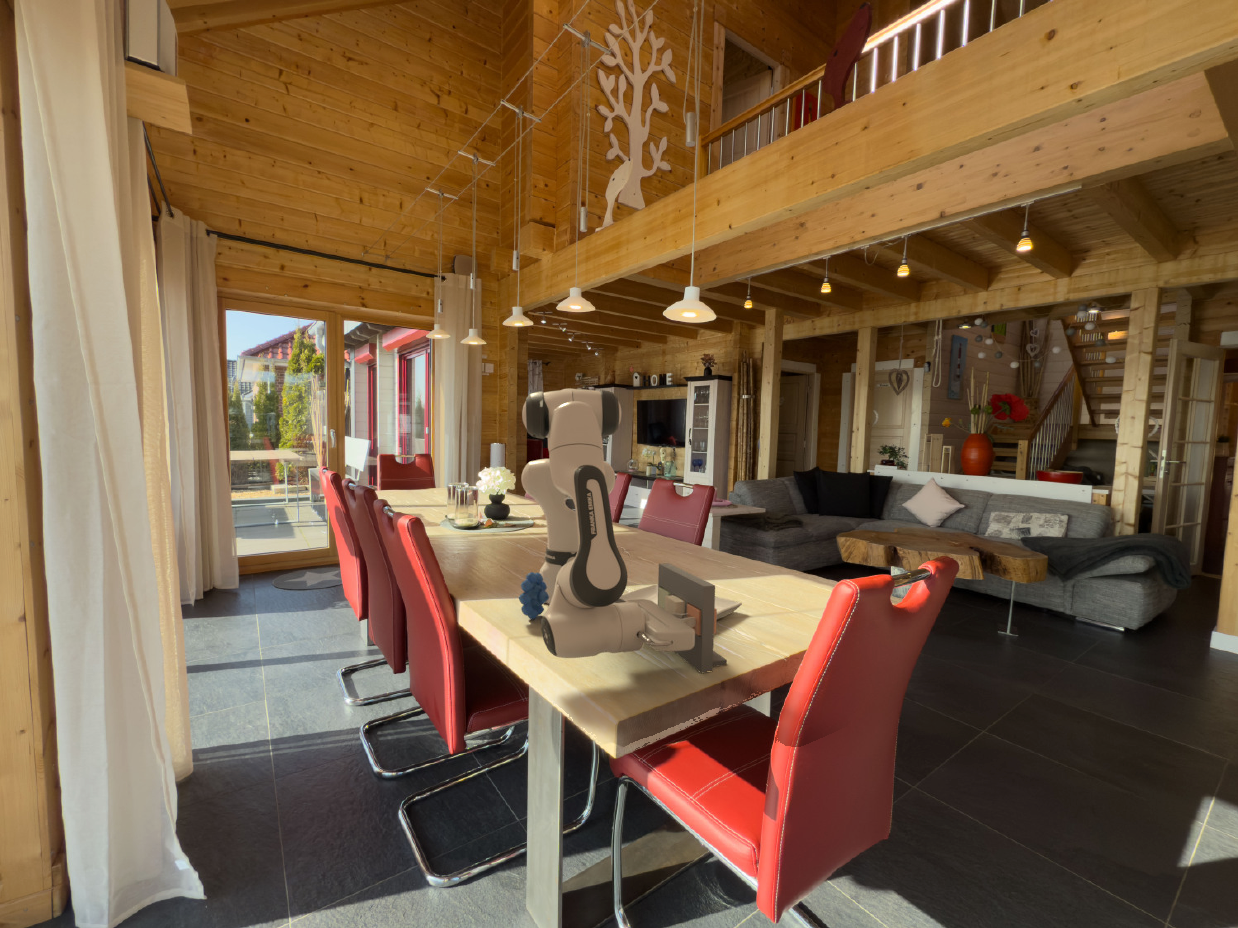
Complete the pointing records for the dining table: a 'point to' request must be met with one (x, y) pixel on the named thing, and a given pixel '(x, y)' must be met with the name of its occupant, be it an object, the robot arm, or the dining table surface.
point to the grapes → (533, 595)
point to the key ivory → (674, 604)
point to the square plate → (651, 594)
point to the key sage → (662, 597)
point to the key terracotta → (699, 618)
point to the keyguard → (704, 599)
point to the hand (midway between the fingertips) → (692, 619)
